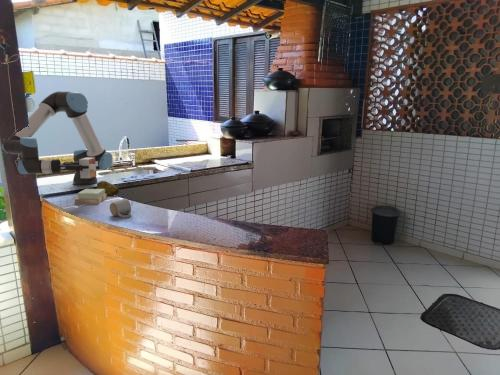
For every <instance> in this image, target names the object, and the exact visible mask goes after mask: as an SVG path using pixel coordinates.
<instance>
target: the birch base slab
mask: <svg viewBox="0 0 500 375" xmlns="http://www.w3.org/2000/svg"><path fill="white" fill-rule="evenodd" d="M107 198H108V195H107V194H104V195H103V196H102V197H100V198H99V199H78V197H76V198H74V204H75V205H76V204H82V205H83V204H84V205H85V204H88V205H91V204H94V205H98V204H99V205H100V204H101V203H102V202H104V201H105V200H106V199H107Z"/></svg>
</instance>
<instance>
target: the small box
mask: <svg viewBox="0 0 500 375" xmlns="http://www.w3.org/2000/svg"><path fill="white" fill-rule="evenodd" d="M83 164H96V163H95V158H88V157H86V158H83V159H79V165H83ZM82 170H83V169H82ZM95 176H96V177H97V169H89V170H83V171H81V170H80V177H81V178H92V177H95Z"/></svg>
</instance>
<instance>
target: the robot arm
mask: <svg viewBox="0 0 500 375" xmlns="http://www.w3.org/2000/svg"><path fill="white" fill-rule="evenodd" d="M88 104H89V103H88V99H87V97H86V96H85V95H84V94H83V93H81V92H80V91H79V92H78V91H75V90H72V91H59V90H58V91H55V92H52V93H50V94H48V95H47V96H46V97H45V98H44V99H43V100H41V102H39V103H38V108H37V109H36V110H35V111H34V112H33V113H32V114H31V115H30V116H29V117H28V118H29V124H28V126H30V129H29V127H28V126H27V127H25V128H23V129H22V130H21V131H19V132H17V133H16V134H15V135H13V134H12V135H13V136H12V135H11V136H12V137H11V136H10V137H11V138H10V137H9V138H8V140H7V141H5V142H4V143H3V144H2V146H1V147H2V149H3V150H4V151H5V152H6V153H5V154H8V153H10V154H9V155H20V156H21V158H22V159H19V161H18V163H17V170H18V172H19V173H20V174H22V175H40V174H41V175H42V174H45V175H48V174H61V172H62V171H74V176H73V179H72V183H73V185H76V186H87V185H89V186H90V185H94V184H98V178H97V175H96V176H95V177H92V178H81V177H80V170H81V171H83V170H89V169H96V170H100V171H101V170H102V171H103V170H104V171H105V170H108V169H110V168H111V166H112V165H113V162H114V161H113V160H114V159H113V158H114V156H113V155H112V153H111V152H110V151H109V152H108V151H107V150H106V149H105V147H104V146H103V145H101V143H100V142H99V140H98V136H97V135H96V133H95V130H94V128H93V127H92V124H91V121H90V120H89V118H88V116H87V112H88V107H89V106H88ZM60 112H63V113H64V112H65V114H66V116H67V118H68V119H71V120H72V123H73V124H74V126H75V128H76V130H77V132H78V134H79V137H80V138H81V140H82V142H83V144H84V147H85V148H83V149H77V150H74V151H73V161H63V162H61V159H55V158H53V159H50V158H49V159H47V158H45V159H44V158H43V159H40V156H39V146H38V142H37V140H38V139H37V138H36V137H34V135H35V134H36V133H37V132H38V131H39V129H40V128H41V127H43V125H44V124H45V123H46V122H47V121H48V120H49V119H50V117H54V116H55V115H56V114H57V113H60ZM30 133H31V137H30ZM86 157H88V158H95V163H96V164H83V165H79V159H83V158H86ZM82 169H83V170H82Z"/></svg>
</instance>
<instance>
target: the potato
mask: <svg viewBox="0 0 500 375" xmlns="http://www.w3.org/2000/svg"><path fill="white" fill-rule="evenodd" d="M96 189H105V194H107V196H114V195H115V196H116V195H118V194H119V192H120V191H119V188H118V187H117V186H116V185H114V184H112V183H110V182H108V181H106V180H101V181H99V182H97V183H96Z"/></svg>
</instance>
